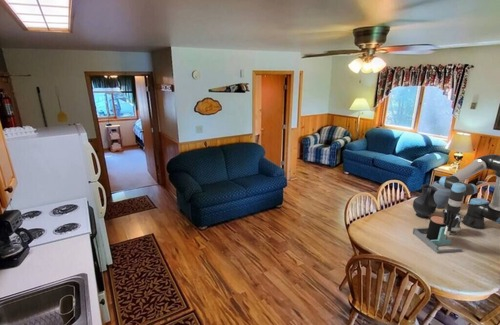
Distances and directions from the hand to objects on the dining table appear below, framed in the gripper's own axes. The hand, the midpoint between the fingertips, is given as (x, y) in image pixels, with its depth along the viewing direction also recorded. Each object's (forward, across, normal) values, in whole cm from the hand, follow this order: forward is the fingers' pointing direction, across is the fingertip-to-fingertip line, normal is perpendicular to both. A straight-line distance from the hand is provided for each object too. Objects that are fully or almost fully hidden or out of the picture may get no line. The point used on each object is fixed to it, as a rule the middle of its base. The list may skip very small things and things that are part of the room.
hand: (446, 234), depth 194 cm
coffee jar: (+11, -9, 0) cm, 14 cm away
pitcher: (+11, -42, +16) cm, 47 cm away
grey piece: (+11, -7, 0) cm, 13 cm away
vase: (+11, -59, +45) cm, 75 cm away
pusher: (+11, -3, 0) cm, 12 cm away
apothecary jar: (+12, -17, +21) cm, 29 cm away
